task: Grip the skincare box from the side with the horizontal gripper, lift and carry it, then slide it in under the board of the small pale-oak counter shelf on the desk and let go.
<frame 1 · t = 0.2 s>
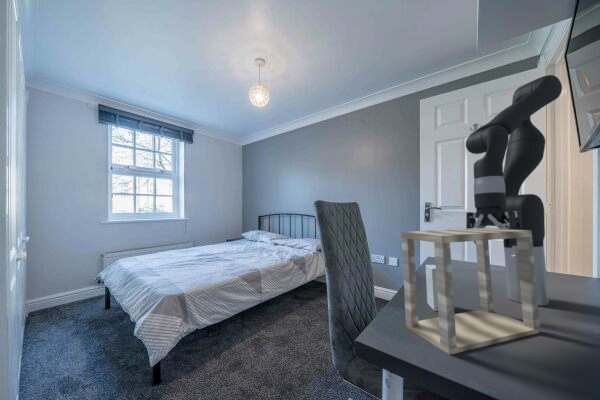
hand: (492, 246, 70), 18 cm above the table, tool pointing down, fingers open, 8 cm apart
oak counter shelf: (470, 329, 56), on the table
skincare box: (438, 308, 69), on the table
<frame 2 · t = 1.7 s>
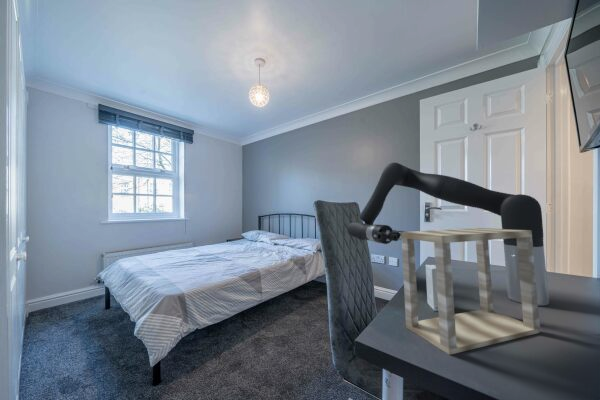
hand: (407, 237, 81), 20 cm above the table, tool horizontal, fingers open, 8 cm apart
nothing on the table moved.
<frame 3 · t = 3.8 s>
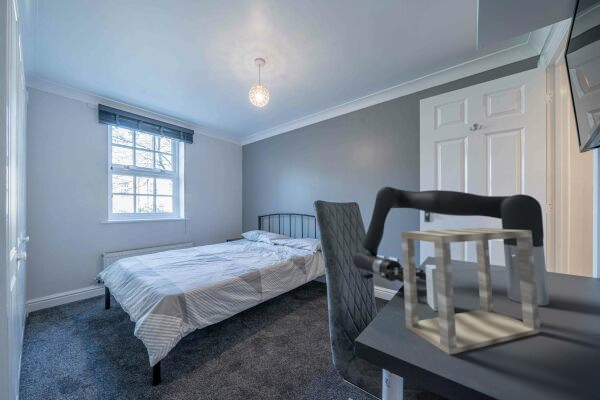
hand: (417, 278, 77), 6 cm above the table, tool horizontal, fingers open, 8 cm apart
nothing on the table moved.
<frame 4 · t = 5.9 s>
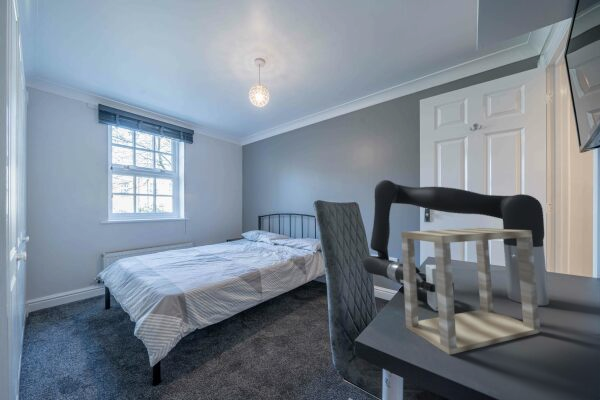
hand: (443, 287, 68), 7 cm above the table, tool horizontal, fingers closed on skincare box, 6 cm apart
skincare box: (438, 308, 69), on the table, touching gripper
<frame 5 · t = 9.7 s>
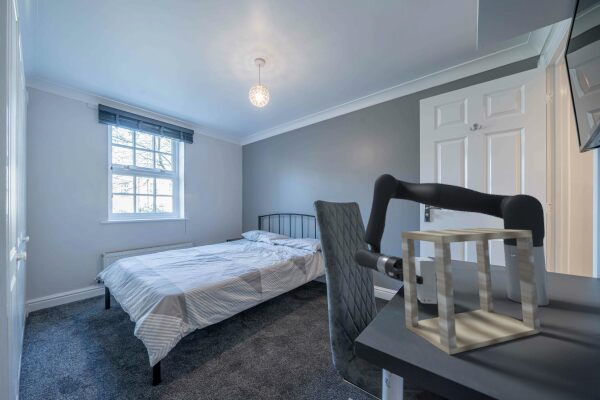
hand: (431, 279, 67), 9 cm above the table, tool horizontal, fingers closed on skincare box, 6 cm apart
skincare box: (426, 300, 69), point 2 cm above the table, touching gripper
when the fingers open (9 cm above the table, at t = 13.5 s): skincare box drops 1 cm, resting on oak counter shelf.
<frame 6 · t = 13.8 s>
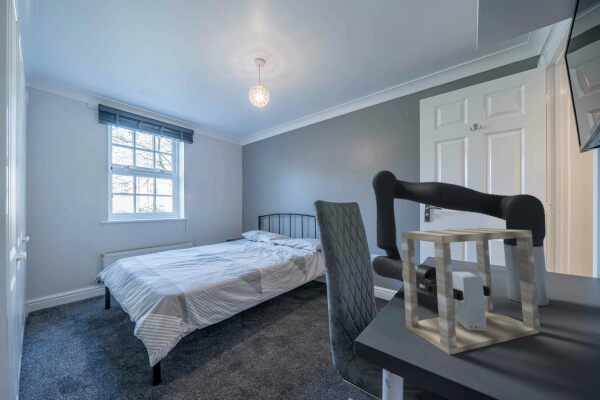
hand: (476, 294, 55), 9 cm above the table, tool horizontal, fingers open, 8 cm apart
skincare box: (470, 325, 56), point 1 cm above the table, touching oak counter shelf
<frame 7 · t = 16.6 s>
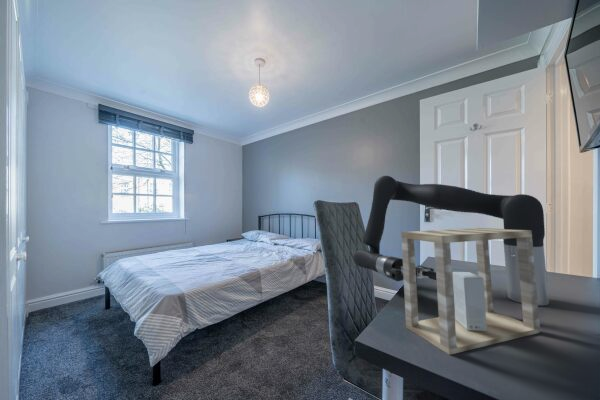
hand: (428, 278, 68), 9 cm above the table, tool horizontal, fingers open, 8 cm apart
nothing on the table moved.
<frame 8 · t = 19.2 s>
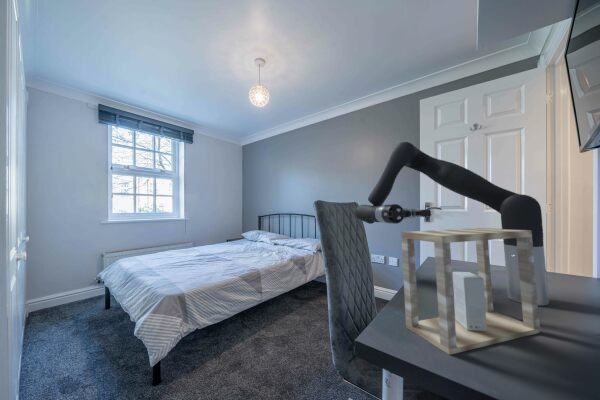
hand: (419, 213, 79), 28 cm above the table, tool horizontal, fingers open, 8 cm apart
nothing on the table moved.
at the end: skincare box inside the target area on the oak counter shelf (1.0 cm from its centre), point 0.8 cm above the oak counter shelf's base; skincare box tilted 0°; the gripper is holding nothing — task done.
